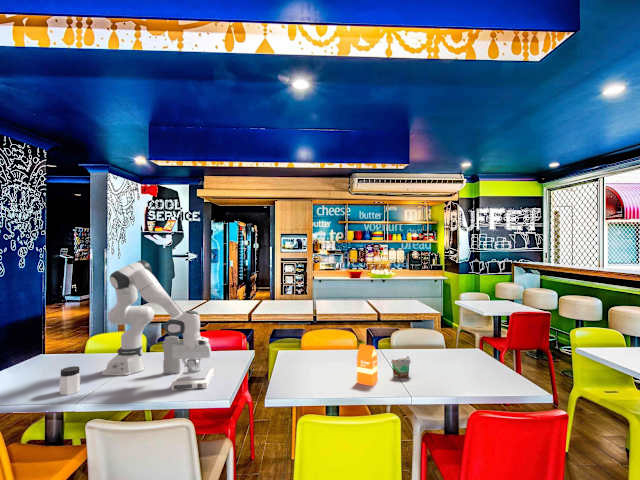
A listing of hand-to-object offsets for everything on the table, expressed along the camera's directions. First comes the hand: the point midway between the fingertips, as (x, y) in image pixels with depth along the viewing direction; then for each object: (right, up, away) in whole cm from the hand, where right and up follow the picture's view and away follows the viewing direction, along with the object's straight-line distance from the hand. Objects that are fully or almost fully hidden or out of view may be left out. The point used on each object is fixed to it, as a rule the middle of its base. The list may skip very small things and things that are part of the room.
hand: (191, 366), depth 196 cm
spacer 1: (0, -2, 0) cm, 2 cm away
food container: (+117, -9, +7) cm, 118 cm away
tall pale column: (-18, -10, +17) cm, 27 cm away
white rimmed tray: (0, -10, +3) cm, 10 cm away
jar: (-60, -10, -9) cm, 62 cm away
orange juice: (+96, -9, 0) cm, 96 cm away
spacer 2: (-1, -6, +9) cm, 10 cm away
